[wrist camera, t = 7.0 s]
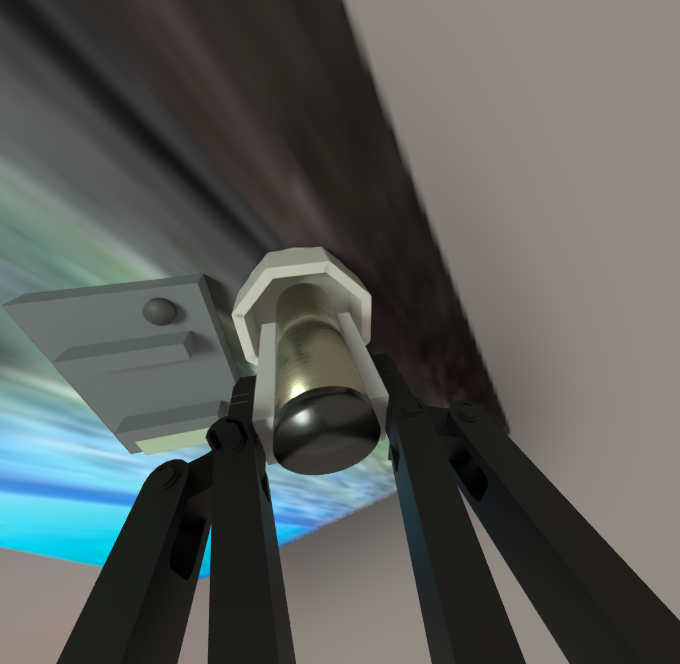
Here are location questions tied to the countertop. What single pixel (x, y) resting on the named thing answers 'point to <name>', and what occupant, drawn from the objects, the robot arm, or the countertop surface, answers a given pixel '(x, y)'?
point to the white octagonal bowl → (289, 270)
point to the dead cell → (317, 389)
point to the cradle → (138, 356)
